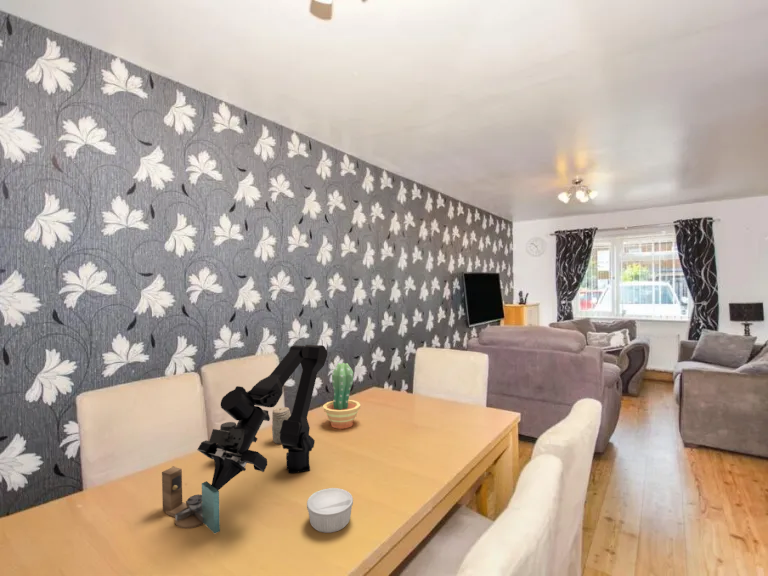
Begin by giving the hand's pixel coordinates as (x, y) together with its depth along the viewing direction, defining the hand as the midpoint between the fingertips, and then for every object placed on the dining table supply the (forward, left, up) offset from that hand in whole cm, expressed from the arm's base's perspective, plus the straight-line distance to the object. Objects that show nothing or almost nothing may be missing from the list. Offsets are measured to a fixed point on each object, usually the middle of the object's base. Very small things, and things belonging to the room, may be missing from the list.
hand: (213, 491), depth 91 cm
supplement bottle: (+1, -37, -9) cm, 38 cm away
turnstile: (+3, -3, -8) cm, 9 cm away
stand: (+7, -8, -9) cm, 14 cm away
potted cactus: (-40, -58, -9) cm, 71 cm away
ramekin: (-27, +5, -9) cm, 29 cm away
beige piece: (-16, -48, -9) cm, 51 cm away
